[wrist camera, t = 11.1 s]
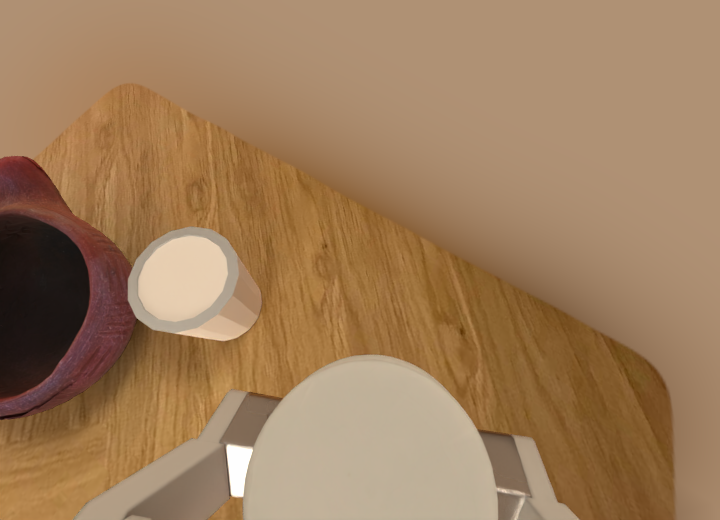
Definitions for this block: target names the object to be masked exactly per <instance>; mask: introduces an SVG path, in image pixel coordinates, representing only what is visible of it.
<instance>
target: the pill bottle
mask: <svg viewBox="0 0 720 520" xmlns="http://www.w3.org/2000/svg"><path fill="white" fill-rule="evenodd" d="M243 520H498V498H497V491H496V484H495V479H494V474H493V469H492V465H491V462H490V459H489V456H488V453H487V450H486V447H485V445H484V442H483V440H482V438H481V436H480V434H479V432H478V430H477V429H476V427H475V425H474V424H473V422H472V420H471V419H470V417H469V416H468V415H467V413H466V412H465V410H464V409H463V408H462V407H461V405H460V404H459V403H458V402H457V401H456V399H454V398H453V397H452V395H451V394H450V393H449V392H448V391H447V390H446V389H445V388H444V386H442V385H441V384H440V383H439V382H438V381H437V380H436V379H435V378H433V377H432V376H431V375H430V374H428V373H427V372H425V371H424V370H422V369H420V368H419V367H417V366H415V365H413V364H411V363H409V362H406V361H403V360H400V359H397V358H393V357H390V356H384V355H357V356H351V357H347V358H343V359H340V360H337V361H335V362H332V363H330V364H328V365H326V366H324V367H322V368H320V369H318V370H317V371H316V372H314V373H313V374H311V375H310V376H308V377H307V378H306V379H305V380H303V381H302V382H301V383H300V384H298V385H297V386H296V387H294V388H293V389H292V390H291V391H290V392H289V393H288V394H287V395H286V396H285V397H284V398H283V399H282V401H281V402H280V403H279V404H278V405H277V407H276V408H275V409H274V411H273V412H272V413H271V415H270V416H269V418H268V419H267V421H266V422H265V424H264V426H263V428H262V430H261V432H260V433H259V435H258V437H257V440H256V442H255V445H254V448H253V450H252V453H251V457H250V460H249V463H248V467H247V471H246V476H245V483H244V491H243Z"/></svg>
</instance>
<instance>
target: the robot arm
mask: <svg viewBox="0 0 720 520" xmlns="http://www.w3.org/2000/svg"><path fill="white" fill-rule="evenodd" d="M282 399H283V398H279V397H274V396H269V395H263V394H258V393H253V392H246V391H240V390H235V389H231V390H230V391H229V392H228V393H227V394H226V395H225V397H224V398H223V400H222V401H221V403H220V404H219V406H218V407H217V409H216V411H215V412H214V414H213V415H212V417H211V418H210V420H209V421H208V423H207V425H206V426H205V428H204V429H203V431H202V432H201V434H200V435H199V437H198V438H197V439H193V438H191V439H190V440H188V441H186V442H185V443H183V444H181V445H180V446H178V447H176V448H175V449H173V450H172V451H170V452H168V453H167V454H165V455H163V456H162V457H160V458H159V459H157V460H155V461H154V462H152V463H150V464H149V465H147V466H146V467H144V468H142V469H141V470H139V471H137V472H136V473H134V474H133V475H131V476H129V477H128V478H126V479H124V480H123V481H121V482H120V483H118V484H116V485H115V486H113V487H111V488H110V489H108V490H106V491H105V492H103V493H102V494H100V495H98V496H97V497H95V498H93V499H92V500H90V501H89V502H87V503H86V504H85V505H84V506H83V507H82V509H81V510H80V511H79V512H78V514H77V515H76V516H75V517H74V518H73V520H207V519H208V518H209V517H211V516H212V515H213V514H214V513H215V512H216V511H217V510H218V509H219V508H220V507H221V506H222V505H223V504H224V503H225V502H227V501H228V500H229V499H230V496H233V497H239V498H243V491H244V483H245V476H246V471H247V467H248V463H249V460H250V457H251V453H252V450H253V448H254V445H255V442H256V440H257V437H258V435H259V433H260V432H261V430H262V428H263V426H264V424H265V422H266V421H267V419H268V418H269V416H270V415H271V413H272V412H273V411H274V409H275V408H276V407H277V405H278V404H279V403H280V402H281V401H282ZM477 430H478V432H479V434H480V436H481V438H482V440H483V442H484V445H485V447H486V450H487V453H488V456H489V459H490V462H491V465H492V469H493V474H494V479H495V484H496V491H497V498H498V520H579V518H578V517H577V516H576V515H575V514H574V513H573V512H572V511H571V510H570V509H569V508H568V507H567V506H566V505H565V504H562V503H558V502H557V499H556V496H555V494H554V491H553V488H552V486H551V483H550V481H549V478H548V475H547V473H546V470H545V467H544V465H543V462H542V460H541V457H540V454H539V452H538V449H537V446H536V444H535V441H534V440H533V439H532V438H531V437H525V436H518V435H512V434H510V435H509V434H506V433H499V432H493V431H486V430H479V429H477Z"/></svg>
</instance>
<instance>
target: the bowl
mask: <svg viewBox="0 0 720 520" xmlns="http://www.w3.org/2000/svg"><path fill="white" fill-rule="evenodd" d="M131 271H132V267H131V265H130V264H129V262H128V261H127V259H126V258H125V256H124V255H123V253H122V252H121V251H120V250H119V249H118V248H117V246H116V245H115V244H114V243H113V242H112V241H111V240H110V239H108V238H107V237H106V236H105V235H104V234H102V233H101V232H100V231H98V230H97V229H95V228H93V227H92V226H90V225H89V224H88V223H86V222H85V221H83V220H81V219H79V218H78V217H76V216H75V215H74V214H73V213H72V212H71V210H70V209H69V207H68V206H67V204H66V203H65V201H64V200H63V198H62V197H61V195H60V193H59V191H58V190H57V188H56V186H55V185H54V184H53V182H52V180H51V179H50V178H49V176H48V175H47V174H46V172H45V171H44V170H43V169H42V168H41V167H40V166H39V165H38V164H37V163H36V162H35V161H34V160H32V159H30V158H28V157H24V156H22V157H21V156H11V157H4V158H2V159H0V420H4V419H15V418H21V417H26V416H30V415H33V414H36V413H39V412H43V411H46V410H49V409H52V408H53V407H55V406H57V405H60V404H62V403H64V402H66V401H69V400H70V399H71V398H73V397H74V396H76V395H78V394H80V393H82V392H83V391H85V390H86V389H88V388H89V387H90V386H92V385H93V384H94V383H95V382H97V381H98V380H99V379H100V378H101V377H102V376H103V375H104V374H105V373H106V372H107V371H108V370H109V369H110V368H111V367H112V366H113V365H114V364H115V362H116V361H117V360H118V359H119V357H120V356H121V354H122V353H123V351H124V349H125V348H126V346H127V344H128V342H129V341H130V338H131V335H132V333H133V330H134V327H135V323H136V320H137V318H136V316H135V314H134V312H133V310H132V308H131V306H130V304H129V302H128V278H129V276H130V273H131Z"/></svg>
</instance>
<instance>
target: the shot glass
mask: <svg viewBox="0 0 720 520" xmlns="http://www.w3.org/2000/svg"><path fill="white" fill-rule="evenodd" d="M128 302H129V304H130V306H131V308H132V310H133V312H134V314H135V316H136V318H137V319H139V320H140V321H141V322H143V323H144V324H145V325H147V326H148V327H150V328H151V329H152V330H157V331H163V332H169V333H175V334H182V335H188V336H194V337H200V338H206V339H212V340H218V341H226V340H230V339H235V338H238V337H239V336H241V335H242V334H244V333H245V332H247V331H248V330H249V329H250V328H251V327H252V325H253V324H254V323H255V321H256V320H257V319H258V317H259V313H260V310H261V306H262V299H261V291H260V289H259V288H258V286H257V284H256V283H255V281H254V280H253V278H252V277H251V275H250V274H249V272H248V271H247V269H246V268H245V266H244V264H243V263H242V261H241V260H240V258H239V257H238V255H237V254H236V252H235V251H234V249H233V248H232V246H231V245H230V243H229V242H228V240H227V239H226V238H224V237H223V236H221V235H220V234H218V233H216V232H215V231H213V230H211V229H206V228H198V227H187V228H182V229H178V230H173V231H170V232H168V233H167V234H165V235H163V236H161V237H160V238H158V239H156V240H155V241H153V242H151V243H150V245H149V246H148V247H147V248H146V249H145V250H144V251H143V252H142V254H141V255H140V256H139V257H138V258H137V259H136V261H135V264H134V266H133V269H132V271H131V273H130V276H129V278H128Z"/></svg>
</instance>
